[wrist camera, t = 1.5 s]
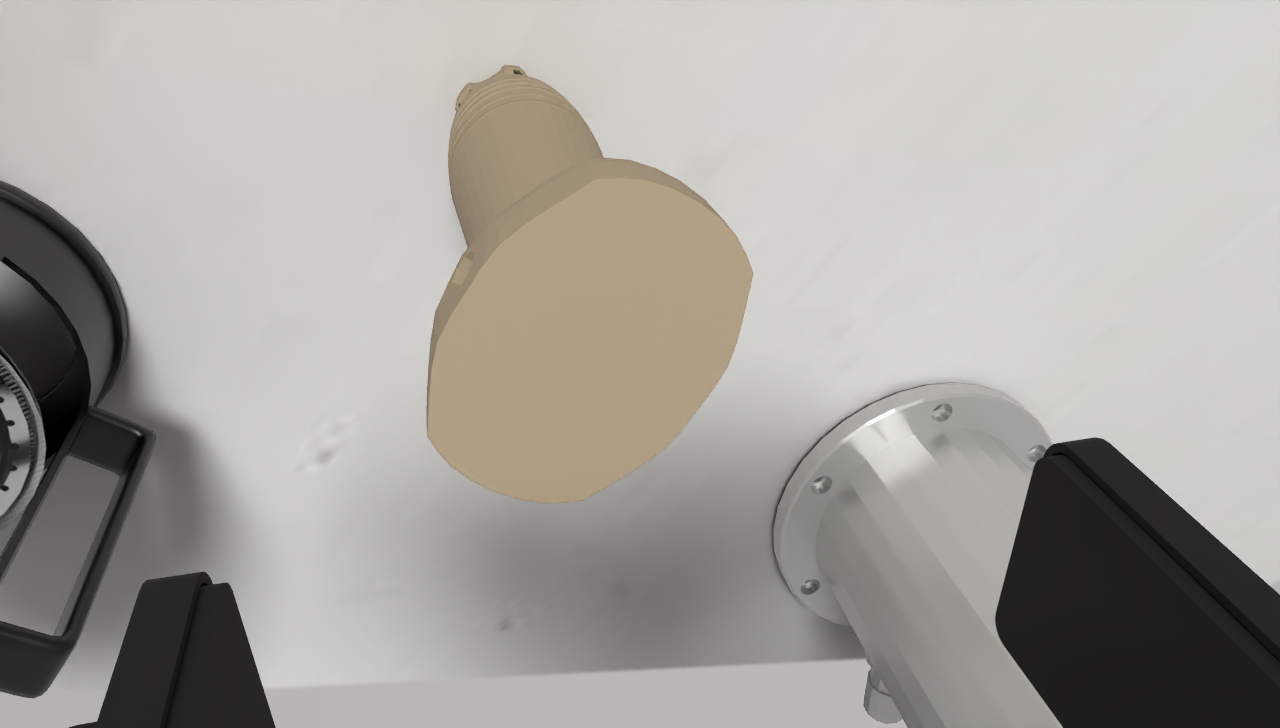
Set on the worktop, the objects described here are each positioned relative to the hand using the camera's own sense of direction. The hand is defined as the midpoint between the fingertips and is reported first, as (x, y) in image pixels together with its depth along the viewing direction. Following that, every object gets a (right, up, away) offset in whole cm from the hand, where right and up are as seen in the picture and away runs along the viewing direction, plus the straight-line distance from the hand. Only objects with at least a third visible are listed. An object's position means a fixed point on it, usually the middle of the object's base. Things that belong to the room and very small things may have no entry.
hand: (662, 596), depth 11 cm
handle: (-4, +10, +18) cm, 21 cm away
